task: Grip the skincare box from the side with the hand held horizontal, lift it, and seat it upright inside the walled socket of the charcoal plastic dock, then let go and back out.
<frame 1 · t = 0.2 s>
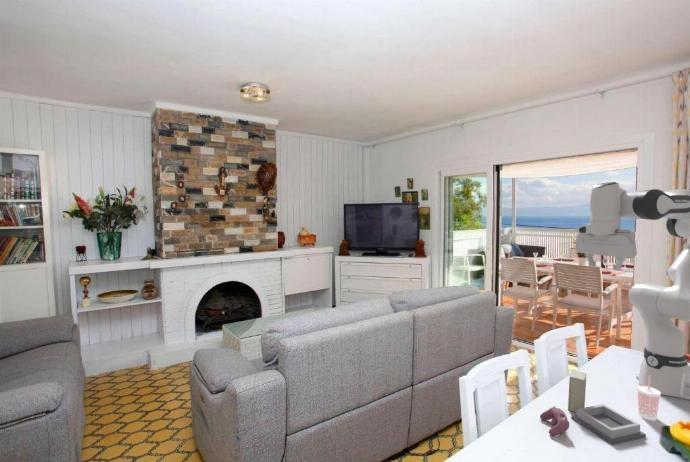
hand: (604, 268, 129), 48 cm above the table, tool pointing down, fingers open, 8 cm apart
video game controller: (554, 428, 115), on the table
skincare box: (576, 409, 126), on the table
beverage cup: (647, 417, 121), on the table
socket dock: (606, 427, 115), on the table
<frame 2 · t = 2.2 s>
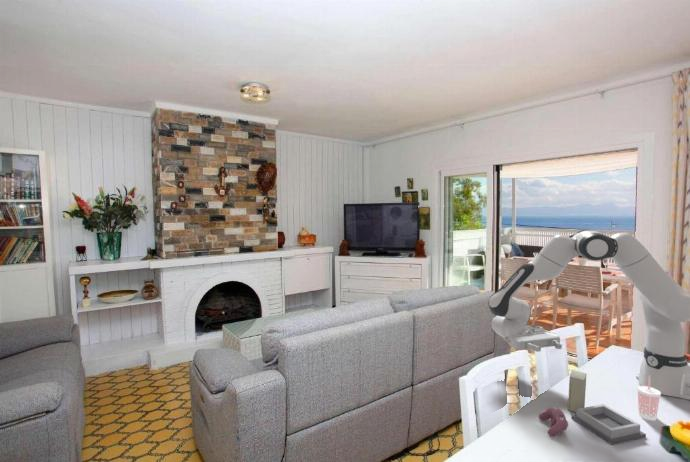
hand: (549, 348, 137), 17 cm above the table, tool horizontal, fingers open, 8 cm apart
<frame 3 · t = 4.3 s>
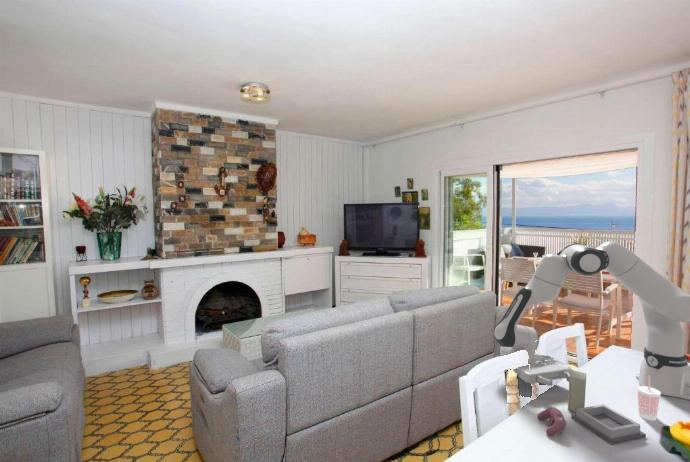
hand: (561, 381, 132), 6 cm above the table, tool horizontal, fingers open, 8 cm apart
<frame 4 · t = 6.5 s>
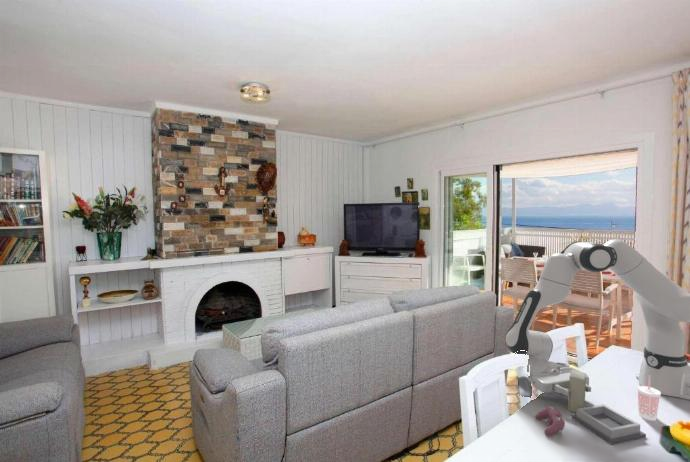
hand: (579, 391, 125), 7 cm above the table, tool horizontal, fingers closed on skincare box, 7 cm apart
skincare box: (576, 409, 126), on the table, touching gripper
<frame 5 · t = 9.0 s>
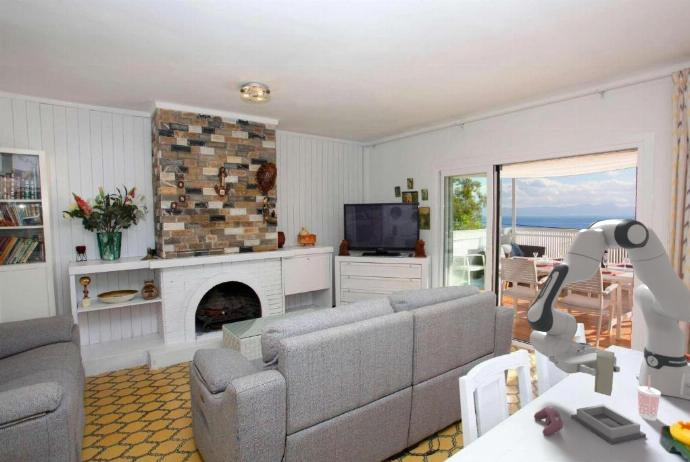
hand: (607, 371, 115), 18 cm above the table, tool horizontal, fingers closed on skincare box, 7 cm apart
skincare box: (603, 391, 116), point 11 cm above the table, touching gripper
when the fingers open (9 cm above the table, at t = 11.9 s): skincare box drops 1 cm, resting on socket dock.
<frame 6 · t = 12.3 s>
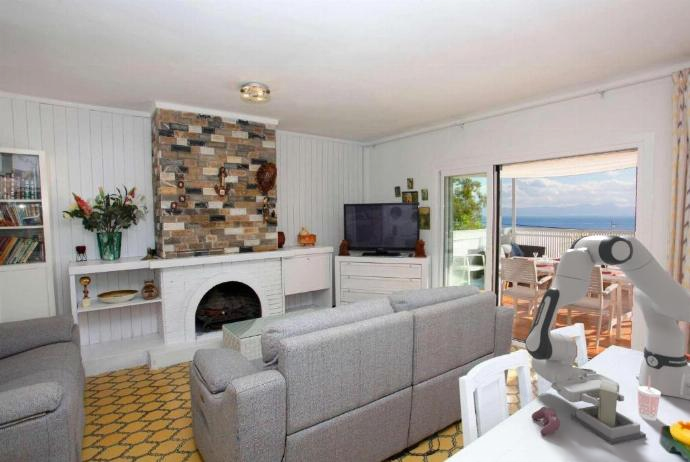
hand: (610, 401, 114), 9 cm above the table, tool horizontal, fingers open, 8 cm apart
skincare box: (606, 424, 115), point 1 cm above the table, touching socket dock
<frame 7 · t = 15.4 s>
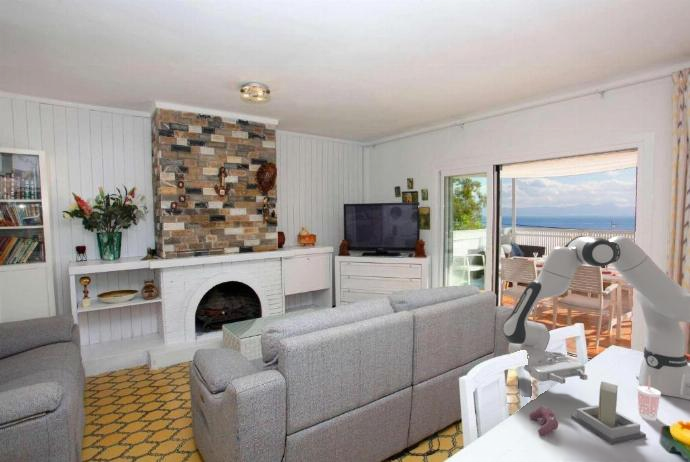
hand: (574, 379, 127), 10 cm above the table, tool horizontal, fingers open, 8 cm apart
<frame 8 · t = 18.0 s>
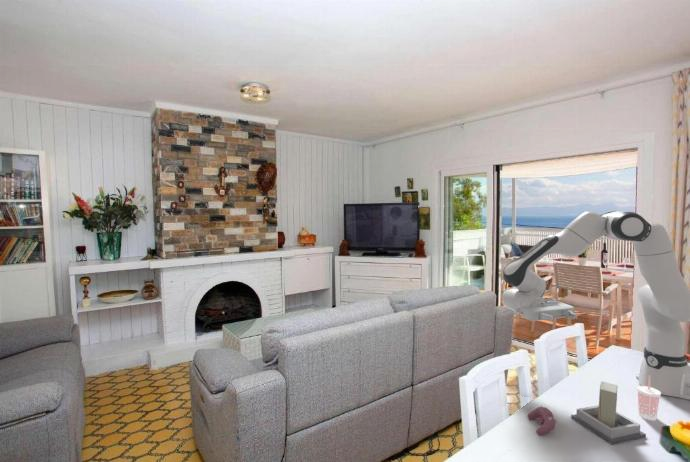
hand: (564, 318, 130), 30 cm above the table, tool horizontal, fingers open, 8 cm apart
at the end: skincare box 0.1 cm off-centre on the socket dock, point 0.8 cm above the socket dock's base; skincare box tilted 0°; the gripper is holding nothing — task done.
